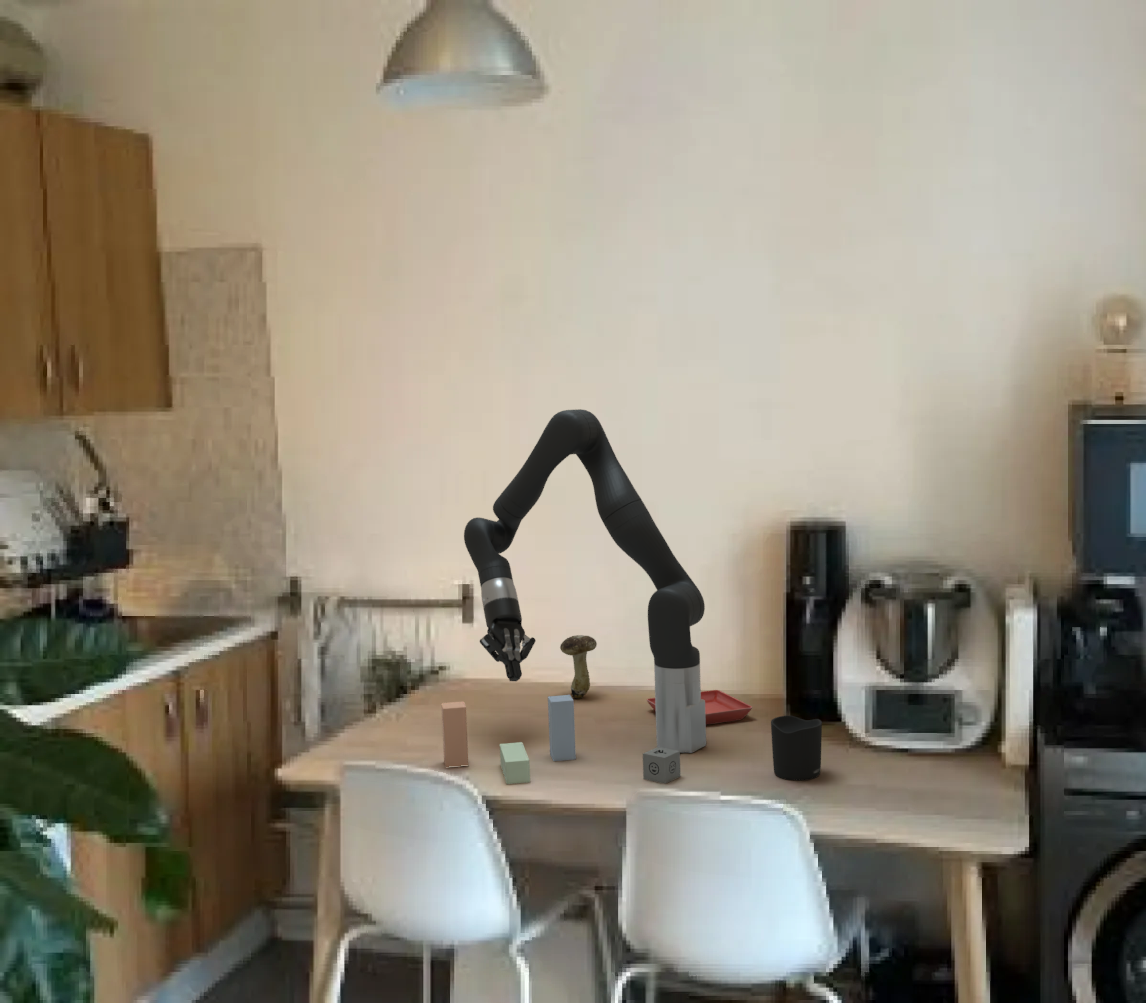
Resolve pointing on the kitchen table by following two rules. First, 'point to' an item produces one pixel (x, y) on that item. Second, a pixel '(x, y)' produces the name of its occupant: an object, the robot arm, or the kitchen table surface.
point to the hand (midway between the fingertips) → (515, 679)
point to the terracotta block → (455, 734)
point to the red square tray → (719, 707)
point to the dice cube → (661, 765)
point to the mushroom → (579, 662)
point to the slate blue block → (561, 727)
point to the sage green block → (514, 763)
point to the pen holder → (796, 747)
